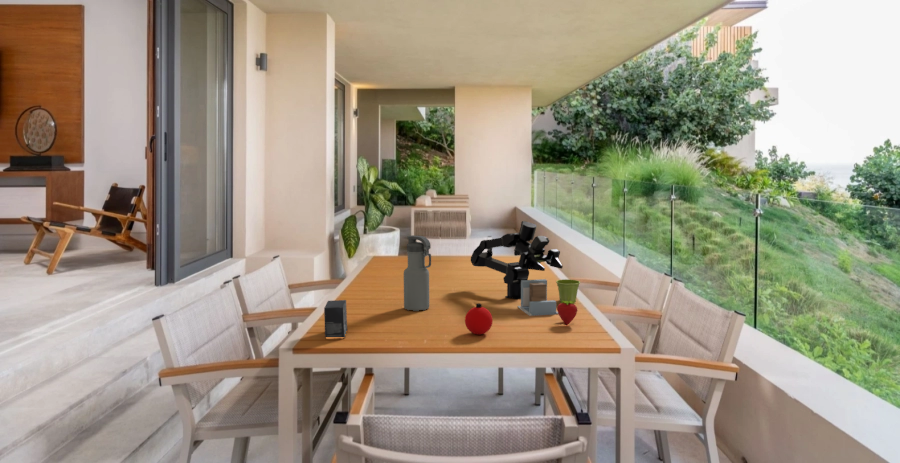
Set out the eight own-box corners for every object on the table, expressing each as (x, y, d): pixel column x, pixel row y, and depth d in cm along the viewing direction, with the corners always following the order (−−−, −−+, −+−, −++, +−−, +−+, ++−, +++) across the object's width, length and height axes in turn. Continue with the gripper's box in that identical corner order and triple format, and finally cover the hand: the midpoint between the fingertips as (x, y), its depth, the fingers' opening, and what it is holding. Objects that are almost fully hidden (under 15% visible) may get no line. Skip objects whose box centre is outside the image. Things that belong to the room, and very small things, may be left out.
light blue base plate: (517, 309, 234) (517, 305, 234) (545, 307, 236) (545, 304, 236) (529, 317, 221) (529, 314, 220) (559, 316, 223) (559, 312, 223)
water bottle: (434, 307, 238) (434, 235, 235) (423, 312, 229) (422, 238, 227) (411, 304, 243) (410, 234, 240) (399, 310, 234) (398, 236, 231)
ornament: (494, 337, 195) (494, 306, 194) (466, 338, 195) (466, 307, 194) (490, 330, 204) (490, 300, 203) (463, 330, 204) (463, 301, 203)
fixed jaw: (528, 313, 224) (528, 301, 223) (553, 312, 226) (553, 300, 225) (530, 315, 222) (530, 302, 221) (556, 313, 223) (556, 301, 223)
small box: (327, 331, 204) (327, 300, 203) (347, 330, 205) (347, 299, 204) (324, 339, 194) (323, 307, 193) (345, 339, 194) (344, 306, 193)
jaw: (520, 306, 233) (521, 280, 232) (544, 305, 235) (545, 279, 234) (522, 307, 231) (523, 281, 229) (547, 306, 232) (547, 280, 231)
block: (529, 309, 230) (529, 283, 229) (542, 308, 231) (542, 282, 230) (533, 311, 226) (533, 285, 225) (545, 311, 227) (546, 284, 226)
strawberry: (564, 321, 215) (564, 293, 214) (581, 325, 210) (581, 296, 209) (552, 324, 212) (553, 295, 211) (569, 328, 206) (570, 299, 205)
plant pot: (579, 306, 239) (580, 284, 238) (555, 305, 241) (555, 283, 240) (579, 300, 248) (580, 279, 247) (556, 300, 250) (556, 279, 249)
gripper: (514, 233, 239) (540, 251, 227) (550, 230, 249) (576, 247, 237) (508, 259, 243) (533, 278, 231) (543, 255, 253) (568, 273, 242)
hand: (553, 268), depth 235 cm, fingers open, 9 cm apart
